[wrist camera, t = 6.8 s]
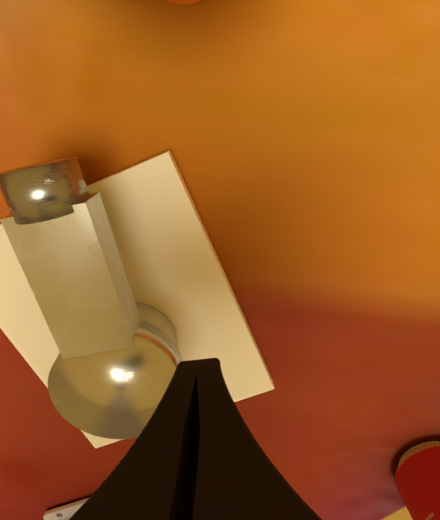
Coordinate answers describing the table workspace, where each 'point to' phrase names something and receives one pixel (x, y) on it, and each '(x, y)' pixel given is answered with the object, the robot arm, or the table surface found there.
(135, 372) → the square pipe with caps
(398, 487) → the beverage can
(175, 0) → the cup with straw
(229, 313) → the base
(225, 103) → the table surface
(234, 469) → the robot arm
